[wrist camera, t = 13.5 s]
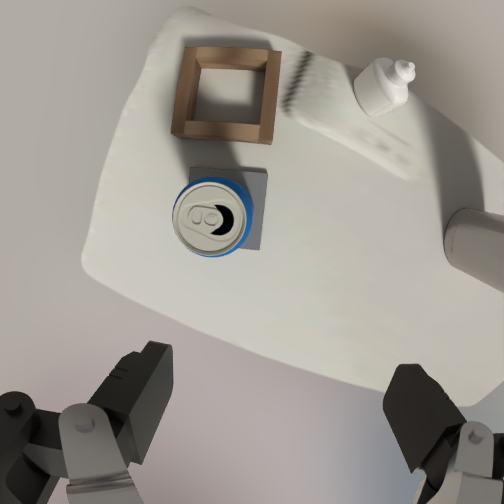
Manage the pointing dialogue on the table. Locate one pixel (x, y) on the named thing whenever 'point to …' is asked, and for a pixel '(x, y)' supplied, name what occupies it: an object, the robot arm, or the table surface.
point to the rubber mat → (254, 186)
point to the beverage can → (213, 216)
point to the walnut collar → (225, 60)
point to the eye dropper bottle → (383, 85)
